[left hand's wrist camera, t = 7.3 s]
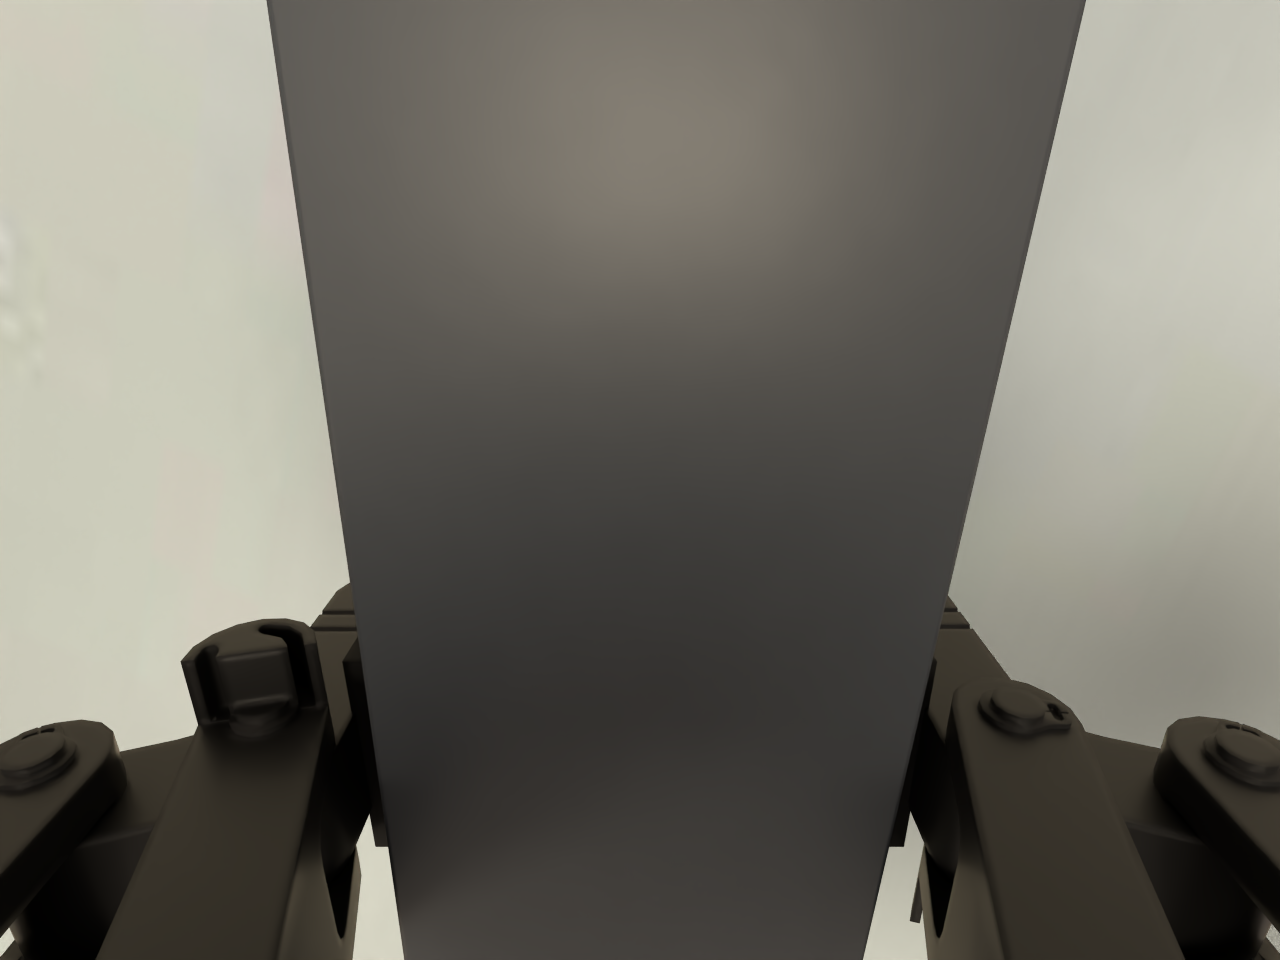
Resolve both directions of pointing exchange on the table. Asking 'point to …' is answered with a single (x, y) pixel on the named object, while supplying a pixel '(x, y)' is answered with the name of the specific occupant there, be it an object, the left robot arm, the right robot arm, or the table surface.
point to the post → (656, 434)
